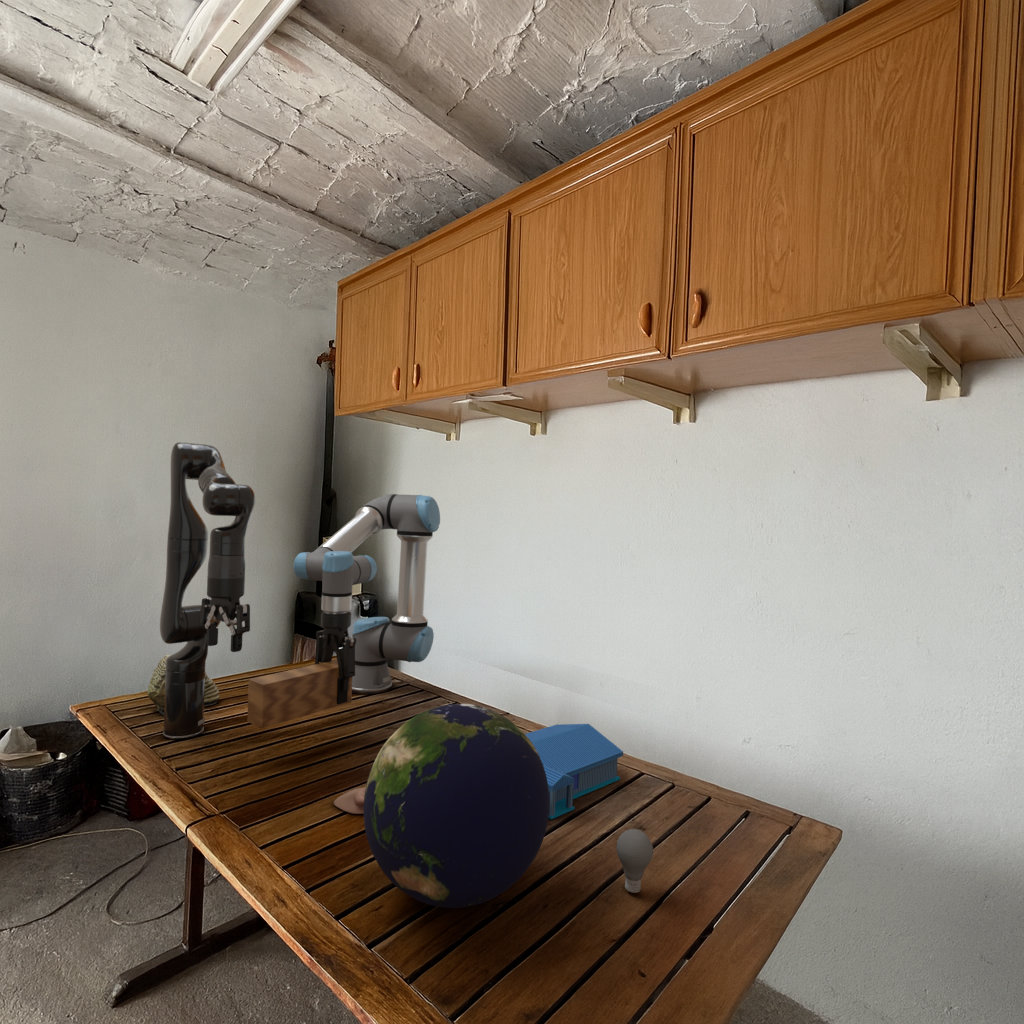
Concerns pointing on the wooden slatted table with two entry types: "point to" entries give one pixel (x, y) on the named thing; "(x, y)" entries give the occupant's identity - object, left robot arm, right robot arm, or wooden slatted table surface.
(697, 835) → the wooden slatted table surface
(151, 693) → the fossil
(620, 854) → the light bulb
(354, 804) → the anatomical model
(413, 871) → the globe
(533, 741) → the model building
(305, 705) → the box
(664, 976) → the wooden slatted table surface
